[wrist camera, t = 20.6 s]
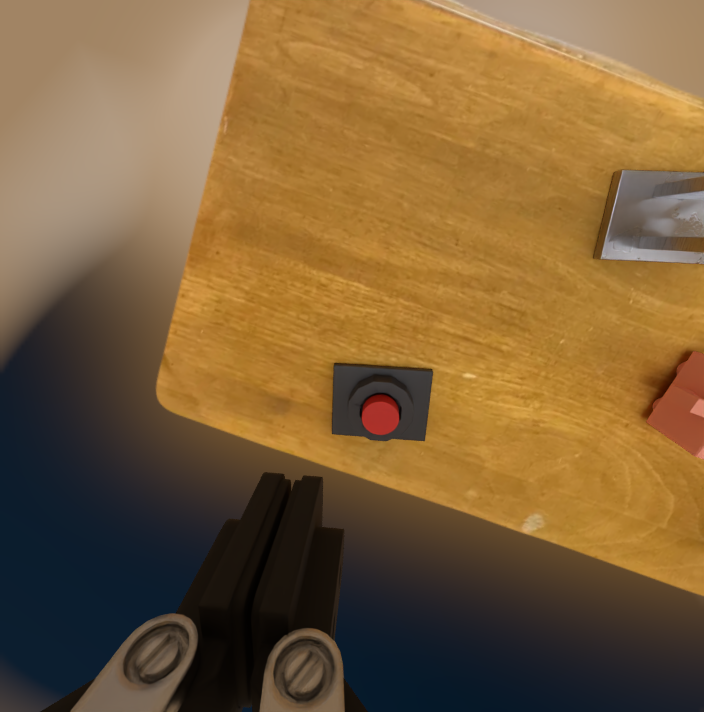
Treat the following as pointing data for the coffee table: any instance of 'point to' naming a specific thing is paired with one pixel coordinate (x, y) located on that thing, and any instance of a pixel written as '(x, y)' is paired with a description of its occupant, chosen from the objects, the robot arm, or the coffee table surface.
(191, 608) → the robot arm
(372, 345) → the coffee table surface
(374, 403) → the button
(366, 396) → the button block
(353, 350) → the coffee table surface
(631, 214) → the lever stand
